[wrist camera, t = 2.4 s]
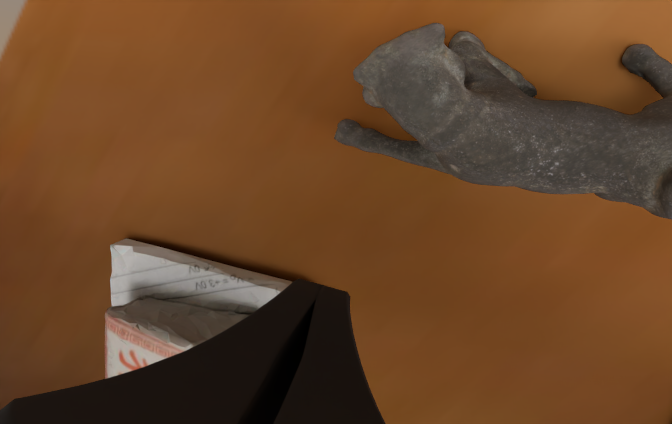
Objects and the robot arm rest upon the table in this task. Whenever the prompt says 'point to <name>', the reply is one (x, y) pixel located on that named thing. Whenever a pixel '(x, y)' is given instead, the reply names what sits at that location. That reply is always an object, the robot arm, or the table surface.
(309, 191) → the table surface
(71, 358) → the table surface
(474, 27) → the table surface
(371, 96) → the dog figurine
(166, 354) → the packaged product
